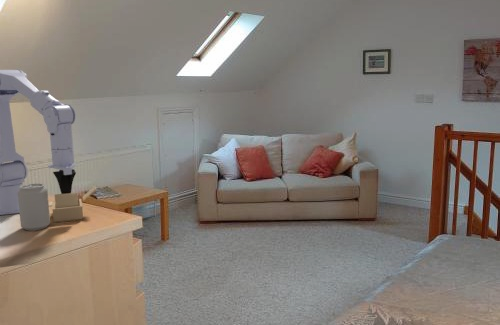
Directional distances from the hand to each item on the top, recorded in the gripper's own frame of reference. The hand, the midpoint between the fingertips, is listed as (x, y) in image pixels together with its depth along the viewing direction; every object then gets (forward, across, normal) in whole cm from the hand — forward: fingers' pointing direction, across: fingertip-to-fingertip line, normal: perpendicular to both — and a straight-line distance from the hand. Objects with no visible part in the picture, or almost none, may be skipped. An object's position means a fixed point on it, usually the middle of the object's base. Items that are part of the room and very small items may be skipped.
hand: (66, 195), depth 134 cm
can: (+8, 0, -8) cm, 12 cm away
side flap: (+2, -8, +7) cm, 11 cm away
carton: (+8, -10, -1) cm, 12 cm away
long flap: (+1, 0, 0) cm, 1 cm away
